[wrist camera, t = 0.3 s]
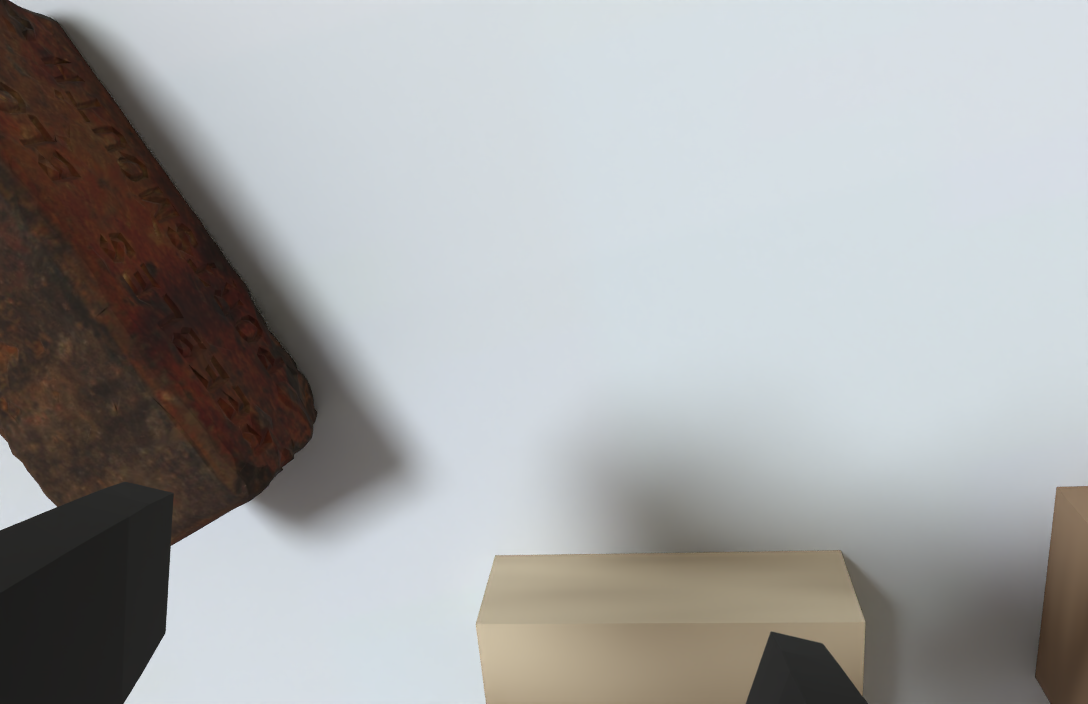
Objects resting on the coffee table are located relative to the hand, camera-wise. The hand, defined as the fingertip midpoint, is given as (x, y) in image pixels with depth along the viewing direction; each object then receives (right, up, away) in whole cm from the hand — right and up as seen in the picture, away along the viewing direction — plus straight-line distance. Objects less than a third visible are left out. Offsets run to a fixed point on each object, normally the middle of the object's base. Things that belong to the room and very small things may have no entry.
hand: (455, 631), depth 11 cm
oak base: (+4, -5, +12) cm, 14 cm away
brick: (-8, +6, +10) cm, 14 cm away
